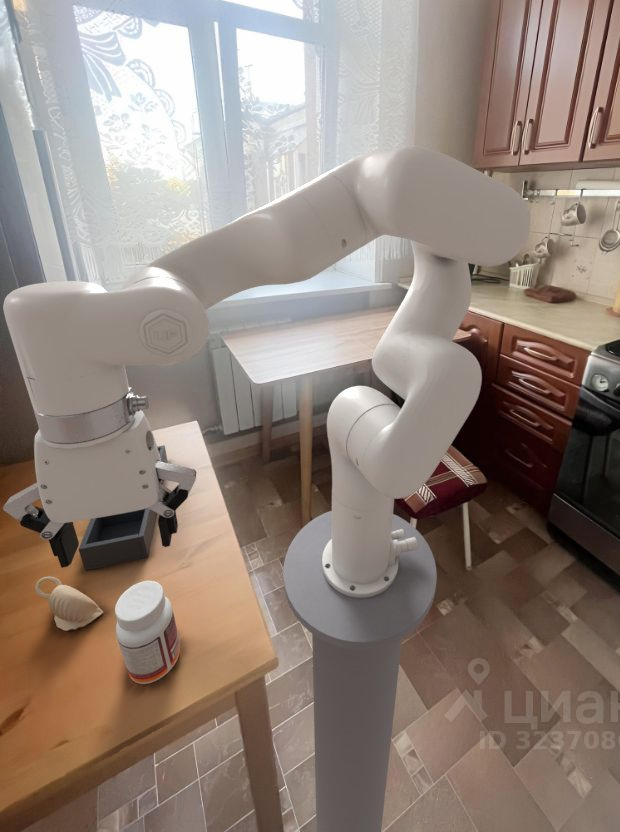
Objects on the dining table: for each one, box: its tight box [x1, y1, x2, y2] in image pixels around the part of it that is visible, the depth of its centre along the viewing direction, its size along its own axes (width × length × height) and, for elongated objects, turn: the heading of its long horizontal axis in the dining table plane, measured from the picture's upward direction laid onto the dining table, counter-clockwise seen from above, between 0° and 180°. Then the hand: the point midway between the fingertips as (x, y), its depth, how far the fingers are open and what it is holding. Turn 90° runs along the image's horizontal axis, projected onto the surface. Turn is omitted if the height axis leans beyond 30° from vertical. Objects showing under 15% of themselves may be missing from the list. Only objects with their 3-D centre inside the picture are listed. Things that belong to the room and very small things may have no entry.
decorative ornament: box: [35, 575, 104, 632], centre depth 55 cm, size 4×8×5 cm, turn 64°
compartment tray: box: [77, 445, 169, 571], centre depth 74 cm, size 9×26×5 cm, turn 18°
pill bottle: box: [114, 580, 181, 685], centre depth 49 cm, size 6×6×11 cm
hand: (121, 546), depth 44 cm, fingers open, 9 cm apart
